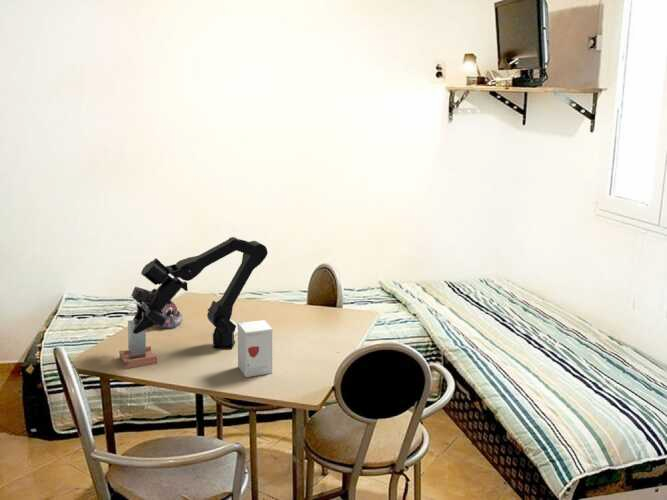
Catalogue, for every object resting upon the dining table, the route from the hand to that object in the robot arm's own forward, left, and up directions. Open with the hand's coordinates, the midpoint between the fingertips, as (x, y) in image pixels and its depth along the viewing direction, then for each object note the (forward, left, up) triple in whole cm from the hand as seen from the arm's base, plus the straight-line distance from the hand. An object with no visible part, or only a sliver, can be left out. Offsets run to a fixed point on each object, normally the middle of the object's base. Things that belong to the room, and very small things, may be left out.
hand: (132, 330), depth 200 cm
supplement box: (-40, +3, -11) cm, 42 cm away
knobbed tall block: (-1, 0, -9) cm, 10 cm away
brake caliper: (-1, -34, -11) cm, 36 cm away
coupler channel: (-1, -1, -11) cm, 11 cm away
